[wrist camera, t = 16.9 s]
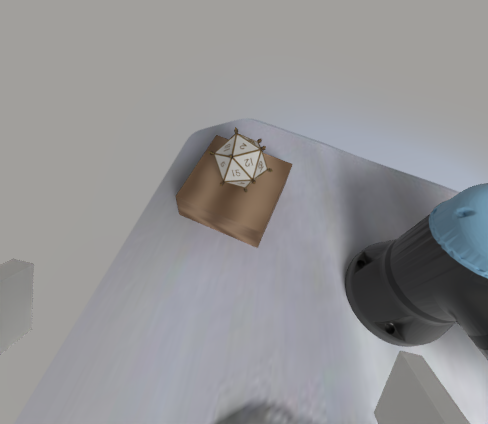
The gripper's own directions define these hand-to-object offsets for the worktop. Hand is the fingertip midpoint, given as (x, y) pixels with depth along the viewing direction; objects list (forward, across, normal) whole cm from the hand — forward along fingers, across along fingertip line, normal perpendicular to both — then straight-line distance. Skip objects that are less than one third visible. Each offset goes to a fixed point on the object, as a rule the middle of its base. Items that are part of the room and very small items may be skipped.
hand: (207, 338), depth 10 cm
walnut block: (+41, -3, -4) cm, 42 cm away
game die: (+38, -2, 0) cm, 38 cm away
